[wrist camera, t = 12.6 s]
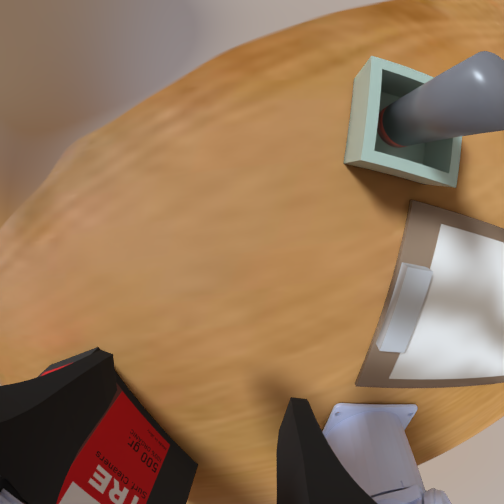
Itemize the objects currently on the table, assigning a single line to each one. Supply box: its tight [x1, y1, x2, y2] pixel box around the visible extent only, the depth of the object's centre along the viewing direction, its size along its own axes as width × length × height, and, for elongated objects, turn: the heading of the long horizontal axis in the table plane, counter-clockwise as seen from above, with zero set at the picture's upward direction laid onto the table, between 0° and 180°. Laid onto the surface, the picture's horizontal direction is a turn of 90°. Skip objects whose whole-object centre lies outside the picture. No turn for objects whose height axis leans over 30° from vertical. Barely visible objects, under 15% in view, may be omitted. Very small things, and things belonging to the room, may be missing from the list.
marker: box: [377, 51, 504, 148], centre depth 10 cm, size 3×3×10 cm
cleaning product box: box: [22, 347, 198, 504], centre depth 15 cm, size 16×9×20 cm, turn 27°
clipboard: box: [355, 200, 504, 388], centre depth 17 cm, size 14×18×1 cm
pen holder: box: [344, 56, 462, 188], centre depth 14 cm, size 6×6×4 cm
